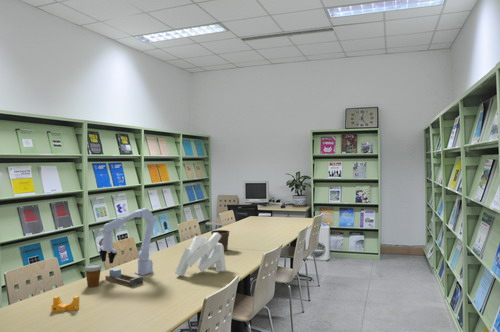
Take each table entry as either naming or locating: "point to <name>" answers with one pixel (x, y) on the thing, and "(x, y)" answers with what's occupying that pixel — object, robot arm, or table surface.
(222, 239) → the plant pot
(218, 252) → the pile of blocks
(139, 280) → the guide rail
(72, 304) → the pipe clamp
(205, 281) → the table surface
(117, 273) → the block
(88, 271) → the disposable coffee cup
